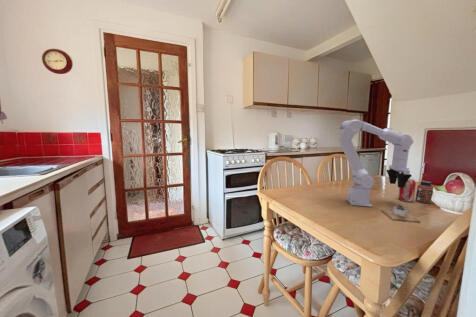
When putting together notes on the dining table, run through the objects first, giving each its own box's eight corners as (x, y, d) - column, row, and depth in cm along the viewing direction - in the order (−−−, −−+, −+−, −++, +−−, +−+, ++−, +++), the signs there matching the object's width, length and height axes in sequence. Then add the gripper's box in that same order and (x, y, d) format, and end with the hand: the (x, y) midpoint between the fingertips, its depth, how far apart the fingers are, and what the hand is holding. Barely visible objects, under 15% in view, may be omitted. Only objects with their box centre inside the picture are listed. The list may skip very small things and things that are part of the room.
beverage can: (416, 202, 102) (419, 180, 100) (402, 202, 103) (405, 180, 101) (408, 199, 108) (411, 178, 106) (395, 198, 109) (398, 177, 107)
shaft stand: (392, 220, 81) (393, 208, 81) (380, 210, 91) (382, 200, 90) (420, 222, 79) (421, 211, 78) (405, 213, 88) (407, 202, 88)
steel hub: (395, 216, 83) (396, 210, 83) (389, 212, 88) (390, 205, 87) (409, 218, 82) (410, 211, 81) (402, 213, 87) (403, 207, 86)
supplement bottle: (418, 202, 102) (421, 182, 100) (413, 199, 107) (416, 179, 106) (433, 204, 99) (436, 183, 98) (427, 200, 105) (430, 180, 103)
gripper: (419, 161, 87) (415, 190, 89) (400, 157, 101) (397, 182, 103) (401, 160, 89) (397, 189, 90) (385, 156, 102) (382, 181, 104)
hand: (396, 185), depth 97 cm, fingers open, 7 cm apart
